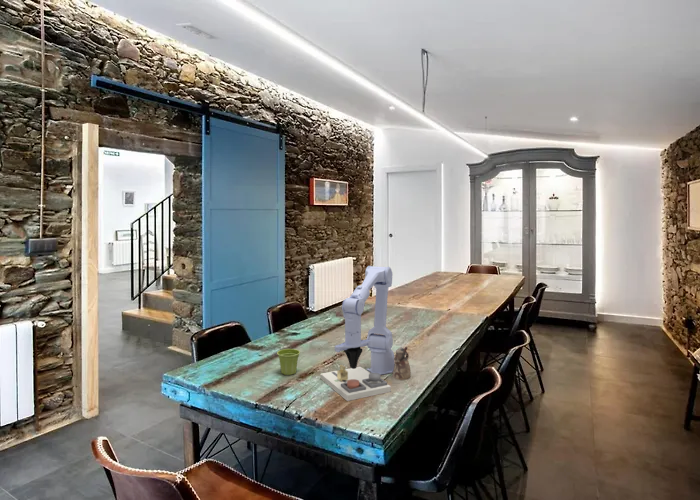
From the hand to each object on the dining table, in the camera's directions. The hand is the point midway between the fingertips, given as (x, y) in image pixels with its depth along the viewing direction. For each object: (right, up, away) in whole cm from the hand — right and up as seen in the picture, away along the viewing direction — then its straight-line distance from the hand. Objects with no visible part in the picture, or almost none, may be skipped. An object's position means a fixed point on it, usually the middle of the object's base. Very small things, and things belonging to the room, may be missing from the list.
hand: (353, 367), depth 158 cm
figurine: (+20, -8, +17) cm, 27 cm away
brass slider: (-4, -6, +8) cm, 11 cm away
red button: (0, -7, 0) cm, 7 cm away
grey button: (+8, -5, +4) cm, 11 cm away
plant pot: (-26, -8, +22) cm, 35 cm away
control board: (0, -9, +8) cm, 12 cm away
